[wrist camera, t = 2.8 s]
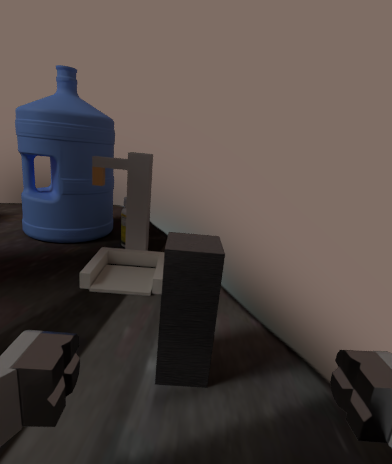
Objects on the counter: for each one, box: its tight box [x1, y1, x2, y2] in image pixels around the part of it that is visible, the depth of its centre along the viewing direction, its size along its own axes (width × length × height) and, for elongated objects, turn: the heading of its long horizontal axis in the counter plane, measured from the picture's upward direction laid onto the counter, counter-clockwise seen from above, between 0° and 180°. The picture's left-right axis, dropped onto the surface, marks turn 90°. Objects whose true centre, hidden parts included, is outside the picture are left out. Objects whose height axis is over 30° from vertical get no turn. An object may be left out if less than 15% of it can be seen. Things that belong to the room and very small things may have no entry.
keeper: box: [80, 152, 165, 296], centre depth 38 cm, size 12×13×16 cm
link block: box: [155, 232, 225, 387], centre depth 23 cm, size 4×4×11 cm
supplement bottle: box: [121, 197, 149, 247], centre depth 50 cm, size 5×5×8 cm
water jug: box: [15, 65, 115, 243], centre depth 51 cm, size 16×16×28 cm
